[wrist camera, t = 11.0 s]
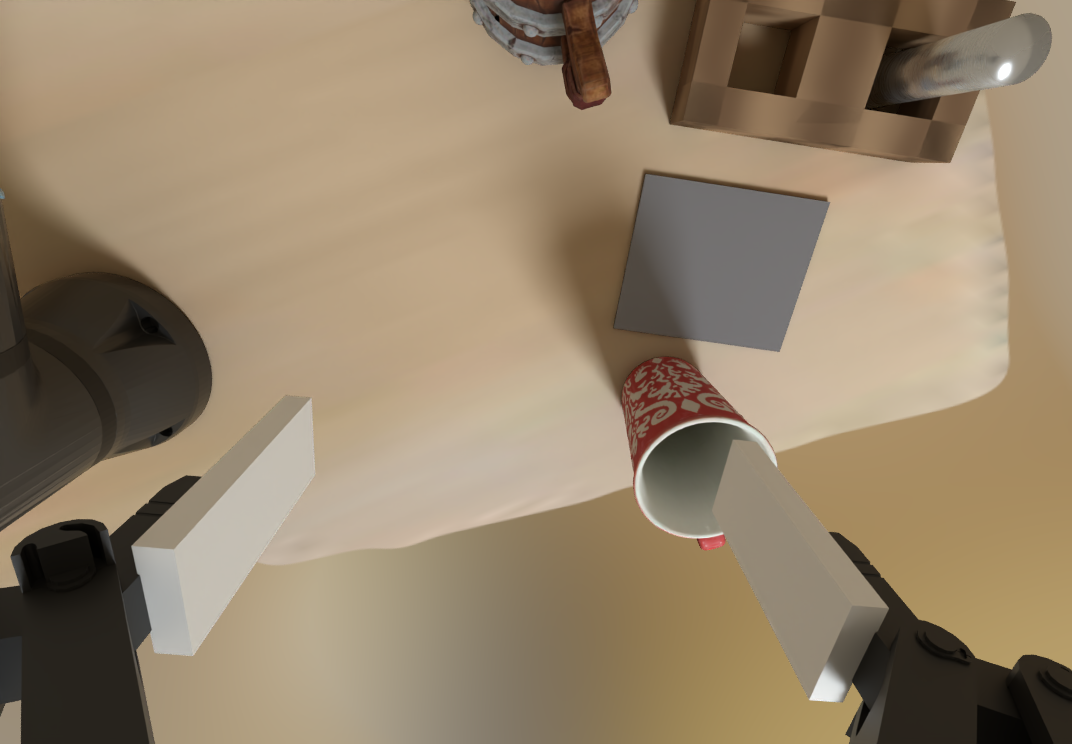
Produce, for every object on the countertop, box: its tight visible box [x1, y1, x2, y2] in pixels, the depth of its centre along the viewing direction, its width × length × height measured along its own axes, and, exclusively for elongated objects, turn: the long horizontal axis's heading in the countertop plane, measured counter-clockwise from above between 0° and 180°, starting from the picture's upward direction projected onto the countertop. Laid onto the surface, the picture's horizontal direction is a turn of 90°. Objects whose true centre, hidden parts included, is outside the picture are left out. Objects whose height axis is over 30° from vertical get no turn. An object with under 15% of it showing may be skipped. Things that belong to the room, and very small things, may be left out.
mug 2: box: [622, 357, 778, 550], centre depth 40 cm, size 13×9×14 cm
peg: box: [865, 13, 1052, 108], centre depth 31 cm, size 3×3×12 cm
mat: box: [614, 174, 830, 352], centre depth 41 cm, size 14×12×1 cm
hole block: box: [670, 0, 1016, 163], centre depth 34 cm, size 18×9×4 cm, turn 82°
